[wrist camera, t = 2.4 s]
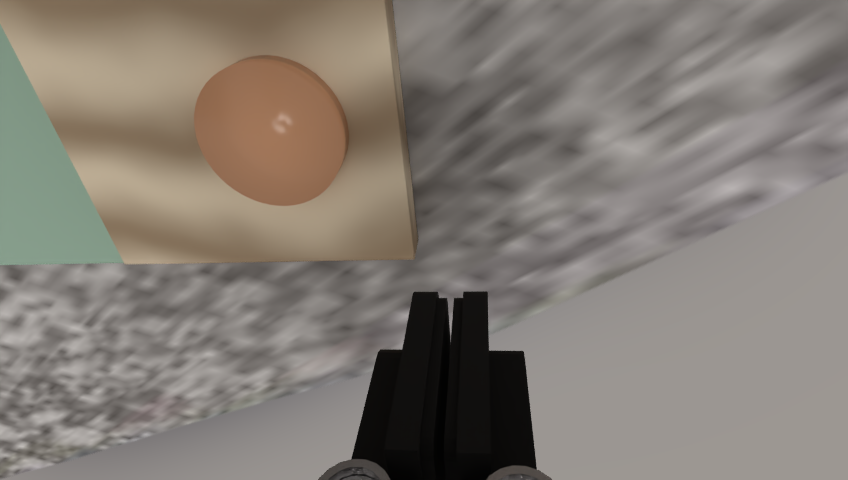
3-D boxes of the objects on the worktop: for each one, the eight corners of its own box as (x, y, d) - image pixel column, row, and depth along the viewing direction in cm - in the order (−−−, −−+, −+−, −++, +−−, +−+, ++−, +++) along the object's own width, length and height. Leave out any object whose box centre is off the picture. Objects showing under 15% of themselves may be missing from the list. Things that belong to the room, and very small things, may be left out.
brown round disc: (187, 61, 22) (170, 69, 21) (333, 48, 21) (324, 55, 20) (234, 195, 26) (222, 208, 25) (359, 189, 25) (354, 202, 24)
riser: (7, -37, 23) (-30, -35, 21) (383, -76, 20) (375, -77, 19) (143, 246, 31) (124, 264, 29) (418, 240, 29) (414, 259, 27)
